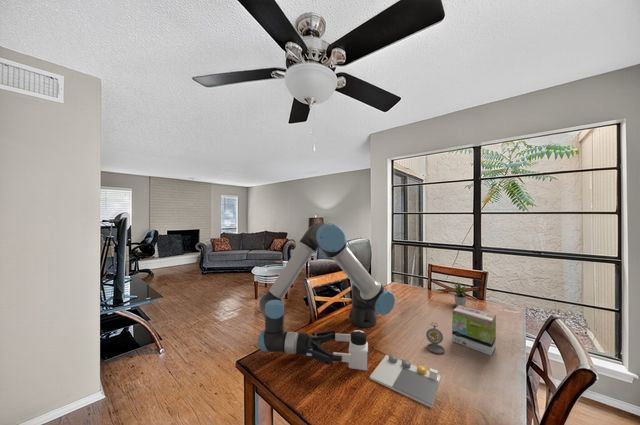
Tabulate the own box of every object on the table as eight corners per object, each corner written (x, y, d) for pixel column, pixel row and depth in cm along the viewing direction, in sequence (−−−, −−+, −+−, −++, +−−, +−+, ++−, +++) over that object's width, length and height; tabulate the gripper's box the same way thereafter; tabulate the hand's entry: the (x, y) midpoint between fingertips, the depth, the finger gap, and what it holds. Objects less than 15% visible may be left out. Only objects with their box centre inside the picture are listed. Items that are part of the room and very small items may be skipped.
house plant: (440, 301, 154) (440, 277, 154) (456, 299, 158) (456, 276, 158) (459, 310, 140) (459, 283, 141) (476, 307, 145) (476, 282, 145)
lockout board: (369, 378, 80) (369, 370, 80) (386, 356, 93) (386, 349, 93) (431, 407, 68) (431, 398, 68) (441, 377, 81) (441, 369, 81)
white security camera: (367, 371, 84) (367, 338, 84) (348, 368, 86) (348, 336, 86) (367, 359, 91) (367, 329, 91) (349, 357, 93) (350, 327, 93)
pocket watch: (435, 355, 94) (435, 331, 94) (421, 344, 102) (421, 322, 102) (451, 352, 96) (451, 328, 96) (436, 342, 104) (436, 320, 105)
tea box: (451, 342, 105) (451, 309, 105) (457, 334, 112) (457, 304, 112) (492, 356, 94) (492, 320, 94) (496, 347, 101) (496, 313, 101)
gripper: (303, 336, 103) (350, 339, 101) (289, 373, 79) (351, 379, 76) (303, 319, 104) (350, 322, 101) (289, 352, 79) (351, 357, 76)
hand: (351, 347), depth 89 cm, fingers open, 13 cm apart
